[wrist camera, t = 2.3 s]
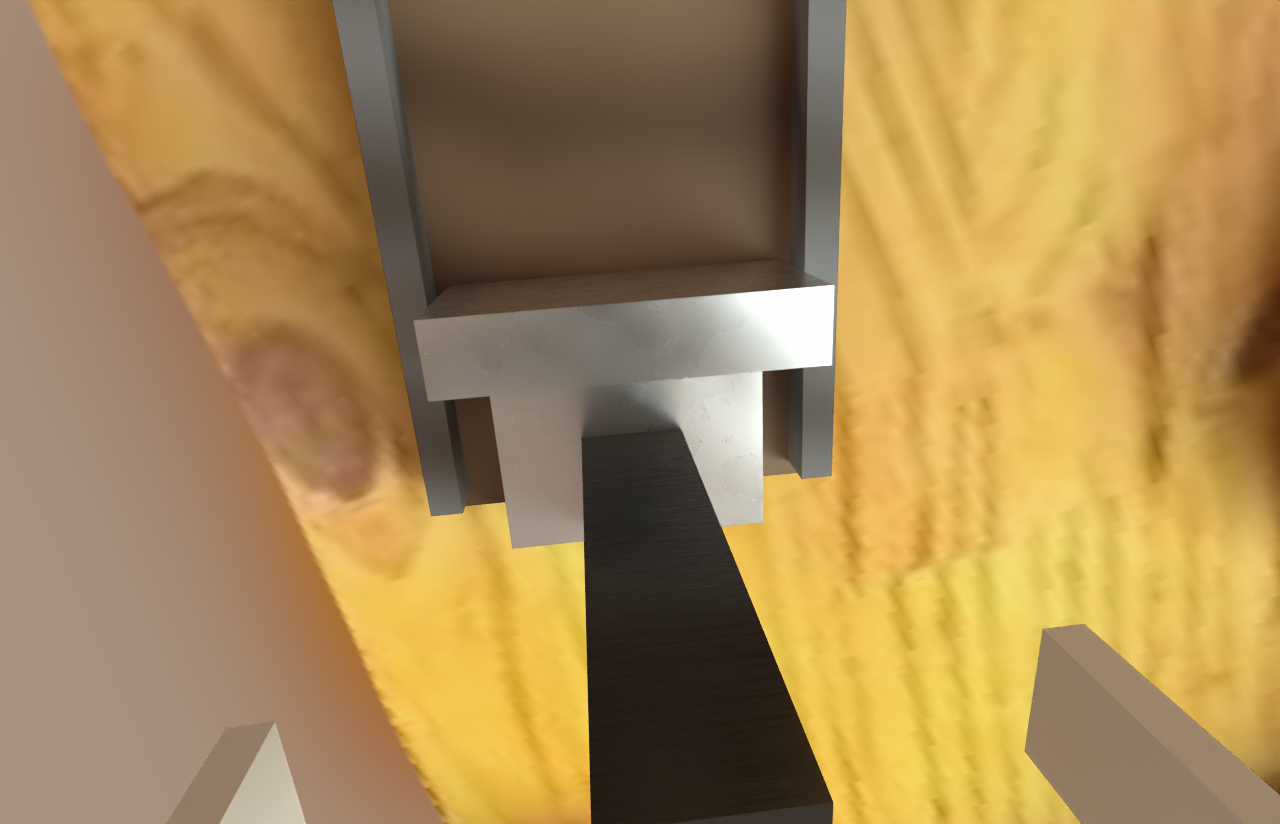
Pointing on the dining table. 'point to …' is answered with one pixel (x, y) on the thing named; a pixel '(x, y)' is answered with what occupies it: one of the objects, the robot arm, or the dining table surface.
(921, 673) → the dining table surface
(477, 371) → the carriage
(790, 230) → the base
